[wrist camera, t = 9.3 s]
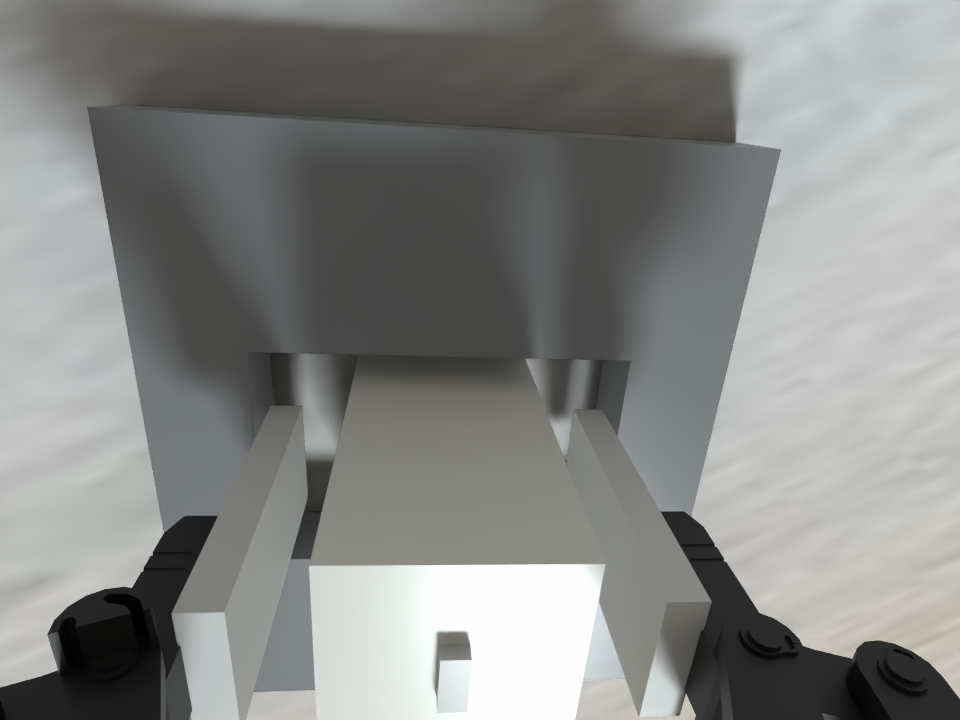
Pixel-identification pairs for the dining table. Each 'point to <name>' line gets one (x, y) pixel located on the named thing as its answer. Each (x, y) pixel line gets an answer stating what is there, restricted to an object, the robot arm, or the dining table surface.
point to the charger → (450, 550)
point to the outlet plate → (418, 283)
